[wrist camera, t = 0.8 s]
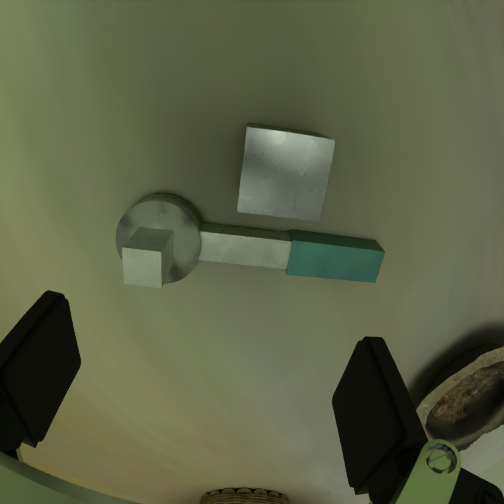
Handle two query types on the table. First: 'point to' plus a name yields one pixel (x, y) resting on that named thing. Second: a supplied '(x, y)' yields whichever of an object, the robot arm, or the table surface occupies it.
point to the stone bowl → (466, 398)
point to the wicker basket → (243, 497)
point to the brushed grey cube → (285, 172)
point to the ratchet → (230, 246)
